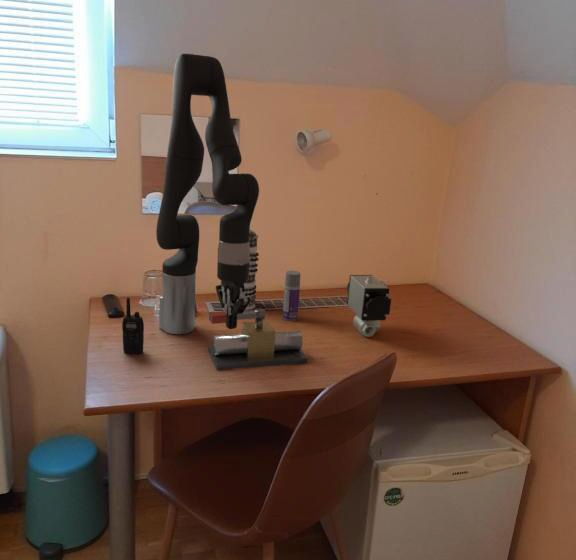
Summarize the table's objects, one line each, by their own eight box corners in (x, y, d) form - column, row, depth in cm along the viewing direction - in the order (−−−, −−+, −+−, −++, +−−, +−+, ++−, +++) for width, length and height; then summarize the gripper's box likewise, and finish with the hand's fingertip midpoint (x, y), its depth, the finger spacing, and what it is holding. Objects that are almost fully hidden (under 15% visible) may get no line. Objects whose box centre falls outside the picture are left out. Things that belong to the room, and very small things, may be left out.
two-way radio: (120, 353, 152) (119, 298, 147) (126, 346, 156) (125, 293, 151) (141, 355, 151) (141, 300, 147) (147, 348, 156) (146, 295, 151)
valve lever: (262, 315, 154) (263, 308, 153) (266, 319, 151) (267, 312, 151) (208, 319, 149) (209, 312, 148) (211, 323, 146) (212, 316, 145)
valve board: (216, 369, 146) (217, 330, 143) (208, 350, 157) (209, 312, 154) (307, 363, 154) (310, 325, 150) (293, 344, 164) (296, 309, 161)
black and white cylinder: (222, 303, 193) (225, 229, 186) (246, 299, 199) (249, 226, 191) (237, 312, 186) (241, 235, 179) (261, 307, 192) (265, 232, 185)
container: (298, 316, 186) (302, 271, 182) (296, 321, 182) (299, 275, 177) (284, 315, 187) (287, 269, 182) (281, 320, 182) (284, 273, 178)
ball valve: (390, 343, 170) (397, 285, 165) (362, 344, 168) (369, 285, 163) (367, 321, 187) (374, 267, 181) (342, 321, 184) (348, 267, 179)
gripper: (206, 254, 141) (204, 321, 146) (234, 267, 131) (231, 339, 136) (233, 251, 146) (231, 317, 150) (262, 264, 135) (258, 334, 140)
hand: (231, 327), depth 143 cm, fingers closed
